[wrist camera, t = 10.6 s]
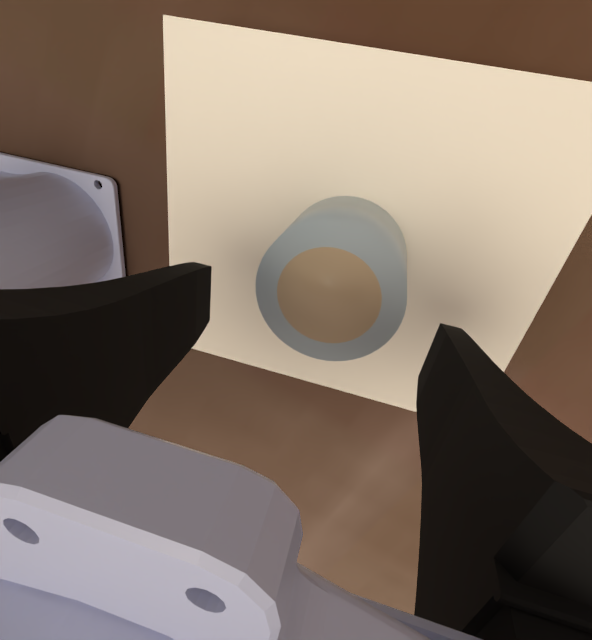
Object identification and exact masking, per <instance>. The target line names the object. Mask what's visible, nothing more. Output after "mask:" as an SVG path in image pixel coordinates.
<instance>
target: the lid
mask: <svg viewBox="0 0 592 640" xmlns="http://www.w3.org/2000/svg"><path fill="white" fill-rule="evenodd" d="M163 37H164V75H165V114H166V152H167V190H168V229H169V266H173V265H177V264H182V263H188V262H196V263H201V264H205V265H209V266H212V270H211V299H210V321H209V323H208V324H207V326H206V328H205V329H204V331H203V333H202V334H201V336H200V337H199V339H198V340H197V342H196V343H195V345H194V346H193V347H192V349H196V350H199V351H203V352H206V353H210V354H213V355H217V356H220V357H224V358H227V359H231V360H234V361H238V362H242V363H245V364H249V365H252V366H256V367H259V368H263V369H266V370H270V371H273V372H277V373H280V374H284V375H288V376H291V377H295V378H298V379H302V380H305V381H309V382H312V383H316V384H319V385H323V386H326V387H330V388H333V389H337V390H341V391H344V392H348V393H351V394H355V395H358V396H362V397H365V398H369V399H372V400H376V401H379V402H383V403H386V404H390V405H394V406H397V407H401V408H404V409H408V410H411V411H415V412H417V408H416V400H417V385H418V376H419V373H420V371H421V369H422V366H423V364H424V361H425V359H426V356H427V354H428V351H429V349H430V347H431V344H432V342H433V339H434V337H435V334H436V332H437V330H438V327H439V325H440V323H442V324H446V325H450V326H454V327H458V328H462V329H463V330H464V331H465V332H466V333H467V334H468V335H469V336H470V337H471V338H472V339H473V340H474V341H475V342H476V343H477V344H478V345H479V347H480V348H481V349H482V350H483V351H484V352H485V353H486V354H487V355H488V356H489V357H490V359H491V360H492V361H493V362H494V363H495V364H496V365H497V366H498V367H499V368H500V369H501V370H502V371H503V372H504V371H505V369H506V367H507V365H508V364H509V362H510V360H511V358H512V356H513V355H514V353H515V351H516V349H517V347H518V346H519V344H520V342H521V340H522V338H523V337H524V335H525V333H526V331H527V329H528V328H529V326H530V324H531V322H532V320H533V319H534V317H535V315H536V313H537V311H538V310H539V308H540V306H541V304H542V302H543V301H544V299H545V297H546V295H547V293H548V292H549V290H550V288H551V286H552V284H553V283H554V281H555V279H556V277H557V275H558V274H559V272H560V270H561V268H562V267H563V265H564V263H565V261H566V259H567V258H568V256H569V254H570V252H571V250H572V249H573V247H574V245H575V243H576V241H577V240H578V238H579V236H580V234H581V232H582V231H583V229H584V227H585V225H586V223H587V222H588V220H589V218H590V216H591V214H592V82H588V81H582V80H575V79H569V78H563V77H556V76H550V75H543V74H537V73H531V72H524V71H518V70H512V69H505V68H499V67H492V66H486V65H480V64H473V63H467V62H461V61H454V60H448V59H441V58H435V57H429V56H422V55H416V54H410V53H403V52H397V51H390V50H384V49H378V48H371V47H365V46H359V45H352V44H346V43H339V42H333V41H327V40H320V39H314V38H308V37H301V36H295V35H288V34H282V33H276V32H269V31H263V30H257V29H250V28H244V27H238V26H231V25H225V24H218V23H212V22H206V21H199V20H193V19H187V18H180V17H174V16H167V15H163ZM336 196H354V197H359V198H363V199H366V200H368V201H371V202H373V203H375V204H377V205H378V206H380V207H381V208H383V209H384V210H385V211H387V212H388V213H389V214H390V215H391V216H392V218H393V219H394V220H395V221H396V223H397V224H398V226H399V228H400V230H401V231H402V234H403V237H404V239H405V244H406V251H407V306H406V310H405V315H404V317H403V320H402V323H401V324H400V326H399V328H398V330H397V331H396V333H395V334H394V335H393V337H392V338H391V339H390V340H389V341H388V342H387V343H386V344H385V345H383V346H382V347H381V348H379V349H378V350H376V351H374V352H373V353H371V354H369V355H366V356H364V357H361V358H357V359H354V360H347V361H325V360H320V359H316V358H312V357H309V356H306V355H304V354H301V353H299V352H298V351H296V350H294V349H292V348H291V347H289V346H288V345H286V344H285V343H284V342H283V341H281V340H280V339H279V338H278V337H277V336H276V335H275V334H274V333H273V332H272V330H271V329H270V328H269V326H268V325H267V323H266V322H265V320H264V318H263V316H262V314H261V312H260V309H259V306H258V302H257V298H256V275H257V271H258V267H259V265H260V262H261V260H262V258H263V256H264V254H265V253H266V251H267V250H268V249H269V247H270V246H271V245H272V244H273V243H274V242H275V241H276V240H277V239H278V237H279V236H280V235H281V234H282V233H283V232H284V231H285V230H286V229H287V228H288V227H289V226H290V225H291V224H292V223H293V222H294V221H295V220H296V219H297V218H298V217H299V216H300V215H301V213H303V212H304V211H305V210H306V209H307V208H308V207H310V206H312V205H313V204H315V203H317V202H319V201H321V200H324V199H327V198H330V197H336Z"/></svg>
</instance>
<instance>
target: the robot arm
mask: <svg viewBox="0 0 592 640" xmlns="http://www.w3.org/2000/svg"><path fill="white" fill-rule="evenodd" d="M99 181H100V182H101V184H102V187H100V185H99ZM211 270H212V266H209V265H205V264H201V263H196V262H188V263H182V264H177V265H173V266H168V267H164V268H160V269H156V270H152V271H148V272H144V273H140V274H135V275H130V276H126V274H125V263H124V253H123V242H122V232H121V221H120V211H119V200H118V190H117V184H116V182H115V181H114V180H113V179H112V178H111V177H108V176H104V175H99V174H95V173H90V172H86V171H81V170H77V169H72V168H68V167H64V166H59V165H55V164H50V163H46V162H41V161H37V160H32V159H28V158H23V157H19V156H14V155H10V154H6V153H1V152H0V640H592V444H591V443H590V442H588V441H587V440H585V439H584V438H582V437H581V436H580V435H578V434H577V433H575V432H574V431H572V430H571V429H569V428H568V427H567V426H565V425H564V424H563V423H561V422H560V421H559V420H557V419H556V418H555V417H554V416H552V415H551V414H550V413H549V412H547V411H546V410H545V409H544V408H542V407H541V406H540V405H539V404H537V403H536V402H535V401H534V400H533V399H532V398H530V397H529V396H528V395H527V394H526V393H525V392H524V391H523V390H522V389H521V388H519V387H518V386H517V385H516V384H515V383H514V382H513V381H512V380H511V379H510V378H509V377H508V376H507V375H506V374H505V373H504V372H503V371H502V370H501V369H500V368H499V367H498V366H497V365H496V364H495V363H494V362H493V361H492V360H491V359H490V357H489V356H488V355H487V354H486V353H485V352H484V351H483V350H482V349H481V348H480V347H479V345H478V344H477V343H476V342H475V341H474V340H473V339H472V338H471V337H470V336H469V335H468V334H467V333H466V332H465V331H464V330H463V329H462V328H458V327H454V326H450V325H446V324H442V323H440V325H439V327H438V330H437V332H436V334H435V337H434V339H433V342H432V344H431V347H430V349H429V351H428V354H427V356H426V359H425V361H424V364H423V366H422V369H421V371H420V373H419V376H418V385H417V400H416V408H417V422H418V434H419V445H420V457H421V469H422V503H421V528H420V548H419V563H418V577H417V591H416V603H415V614H414V615H412V614H409V613H406V612H403V611H400V610H397V609H395V608H392V607H389V606H386V605H383V604H380V603H378V602H375V601H372V600H369V599H366V598H363V597H361V596H358V595H355V594H352V593H350V592H348V591H346V590H344V589H343V588H341V587H339V586H337V585H336V584H334V583H332V582H330V581H329V580H327V579H325V578H323V577H322V576H320V575H318V574H316V573H315V572H313V571H311V570H310V569H308V568H306V567H304V566H303V565H301V564H299V563H297V557H298V553H299V549H300V545H301V541H302V536H303V531H302V525H301V519H300V512H299V509H298V508H297V507H296V505H295V504H294V503H293V502H292V501H291V500H290V499H289V497H288V496H287V495H286V494H285V493H284V492H283V491H282V490H281V489H280V487H279V486H278V485H277V484H276V483H275V482H274V481H273V480H271V479H269V478H267V477H265V476H263V475H261V474H259V473H257V472H255V471H253V470H251V469H249V468H247V467H245V466H243V465H241V464H237V463H234V462H231V461H228V460H225V459H222V458H219V457H215V456H212V455H209V454H206V453H203V452H200V451H197V450H194V449H190V448H187V447H184V446H181V445H178V444H175V443H172V442H168V441H165V440H162V439H159V438H156V437H153V436H150V435H147V434H143V433H140V432H137V431H134V430H131V429H128V427H129V426H130V424H131V423H132V421H133V420H134V419H135V417H136V416H137V414H138V413H139V411H140V410H141V408H142V407H143V405H144V404H145V403H146V401H147V400H148V398H149V397H150V396H151V395H152V393H153V392H154V391H155V390H156V388H157V387H158V386H159V385H160V384H161V383H162V382H163V380H164V379H165V378H166V377H167V376H168V375H169V374H170V372H171V371H172V370H173V369H174V368H175V367H176V366H177V364H178V363H179V362H180V361H181V360H182V359H183V358H184V356H185V355H186V354H187V353H188V352H189V351H190V349H191V348H192V347H193V346H194V345H195V343H196V342H197V340H198V339H199V337H200V336H201V334H202V333H203V331H204V329H205V328H206V326H207V324H208V323H209V321H210V299H211Z"/></svg>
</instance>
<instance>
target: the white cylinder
mask: <svg viewBox="0 0 592 640" xmlns="http://www.w3.org/2000/svg"><path fill="white" fill-rule="evenodd" d="M256 298H257V302H258V306H259V309H260V312H261V314H262V316H263V318H264V320H265V322H266V323H267V325H268V326H269V328H270V329H271V330H272V332H273V333H274V334H275V335H276V336H277V337H278V338H279V339H280V340H281V341H283V342H284V343H285V344H286V345H288V346H289V347H291V348H292V349H294V350H296V351H298V352H299V353H301V354H304V355H306V356H309V357H312V358H316V359H320V360H325V361H347V360H354V359H357V358H361V357H364V356H366V355H369V354H371V353H373V352H374V351H376V350H378V349H379V348H381V347H382V346H383V345H385V344H386V343H387V342H388V341H389V340H390V339H391V338H392V337H393V335H394V334H395V333H396V331H397V330H398V328H399V326H400V324H401V323H402V320H403V317H404V315H405V310H406V306H407V251H406V244H405V239H404V237H403V234H402V231H401V230H400V228H399V226H398V224H397V223H396V221H395V220H394V219H393V218H392V216H391V215H390V214H389V213H388V212H387V211H385V210H384V209H383V208H381V207H380V206H378V205H377V204H375V203H373V202H371V201H368V200H366V199H363V198H359V197H354V196H336V197H330V198H327V199H324V200H321V201H319V202H317V203H315V204H313V205H312V206H310V207H308V208H307V209H306V210H305V211H304V212H303V213H301V215H300V216H299V217H298V218H297V219H296V220H295V221H294V222H293V223H292V224H291V225H290V226H289V227H288V228H287V229H286V230H285V231H284V232H283V233H282V234H281V235H280V236H279V237H278V239H277V240H276V241H275V242H274V243H273V244H272V245H271V246H270V247H269V249H268V250H267V251H266V253H265V254H264V256H263V258H262V260H261V262H260V265H259V267H258V271H257V275H256Z"/></svg>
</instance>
